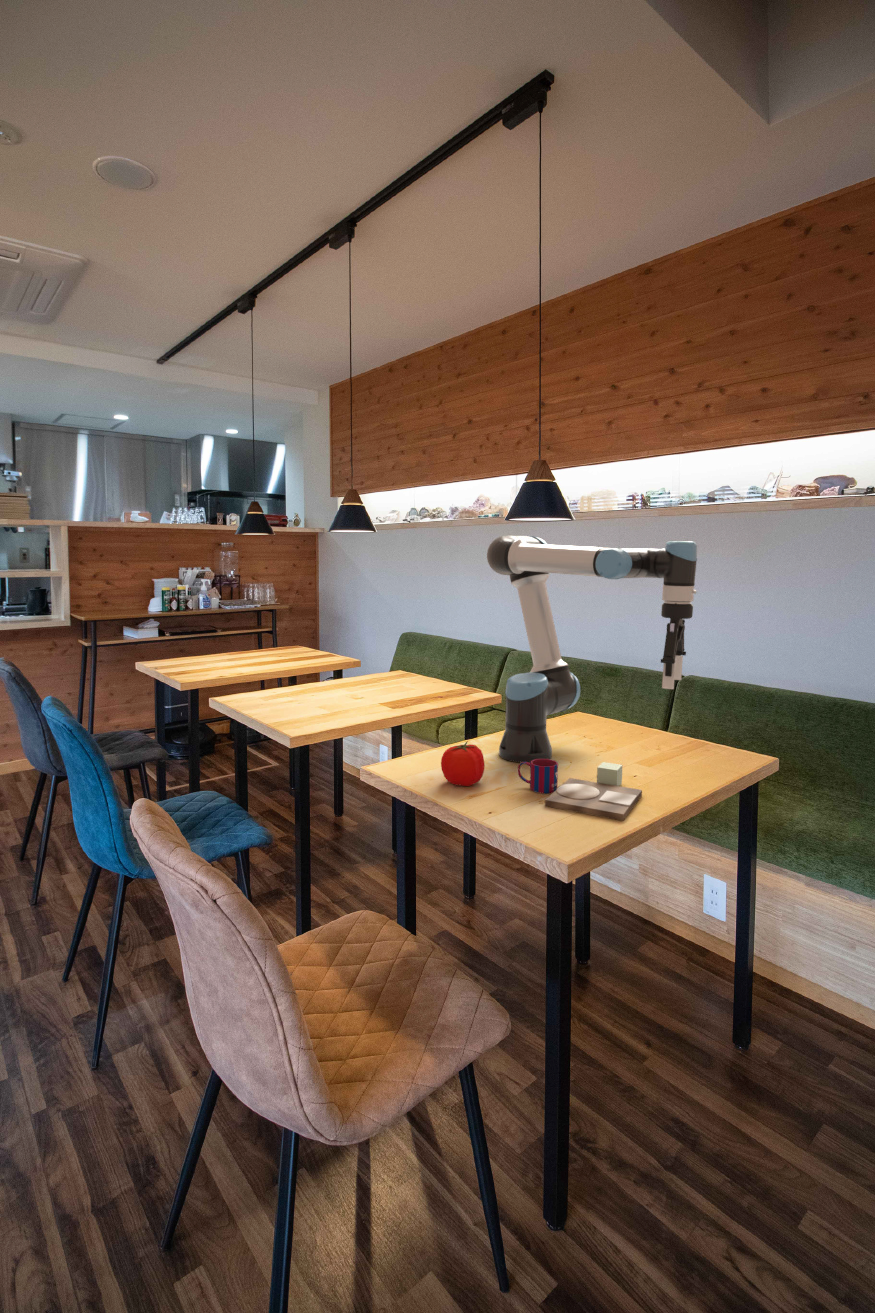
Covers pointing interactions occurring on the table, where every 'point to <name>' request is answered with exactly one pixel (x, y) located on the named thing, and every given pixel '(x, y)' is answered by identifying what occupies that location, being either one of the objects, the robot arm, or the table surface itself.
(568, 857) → the table surface
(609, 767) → the pale sage green cube
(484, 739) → the table surface
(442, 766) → the tomato
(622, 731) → the table surface
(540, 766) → the mug
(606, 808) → the board
